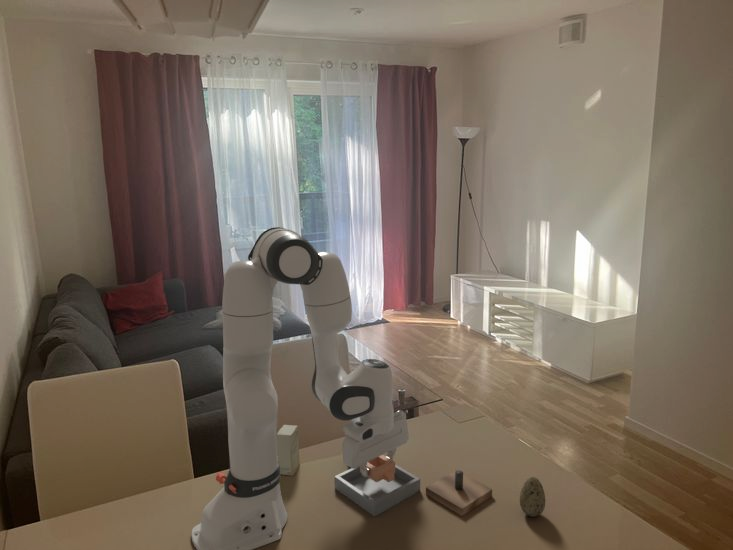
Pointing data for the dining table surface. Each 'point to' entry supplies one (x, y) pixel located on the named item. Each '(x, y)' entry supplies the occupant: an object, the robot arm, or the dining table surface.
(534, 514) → the decorative egg
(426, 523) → the dining table surface
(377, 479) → the ring
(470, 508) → the base
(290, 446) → the skincare box
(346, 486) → the tray
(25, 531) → the dining table surface
